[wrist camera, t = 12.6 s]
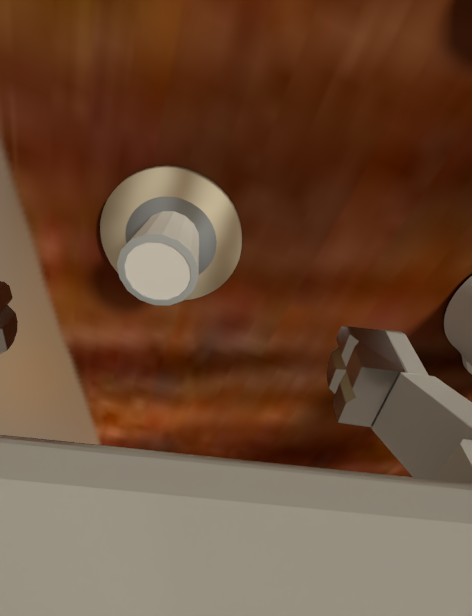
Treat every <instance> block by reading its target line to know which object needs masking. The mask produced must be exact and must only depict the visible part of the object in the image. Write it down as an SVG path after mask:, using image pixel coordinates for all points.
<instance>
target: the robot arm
mask: <svg viewBox="0 0 472 616" xmlns="http://www.w3.org/2000/svg"><path fill="white" fill-rule="evenodd" d="M11 299H12V294H11V291H10V287H9V285H7V284H6V283H5V282H1V281H0V353H3V352H5V351H7V350H8V349H9V347H10V346H11V345H12V343H13V341H14V338H15V336H16V333H17V318H16V314H15V312H14V311H13V310H12V309H11V308H10V307H9V306H8V303H9V302H10V301H11ZM444 330H445V334H446V336H447V338H448V340H449V342H450V343H451V344H452V345H453V346H454V347H455V348H456V349H457V350H458V351H459V352H460V354H461V356H462V361H463V365H464V367H465V368H466V369H467V371H468V372H469V373H470V374H472V276H471V277H470V278H469V279H468V280H467V281H465V282H464V284H463V285H462V286H461V287H460V288H459V289H458V290H457V292H456V293H455V294H454V296H453V297H452V299H451V301H450V303H449V305H448V307H447V309H446V313H445V317H444ZM336 339H337V343H338V346H339V347H338V348H337V349H335V350H334V351H332V352H331V355H330V358H329V361H328V366H327V382H328V386H329V389H331V390H332V391H333V392H334V393H335V396H334V399H333V401H332V402H333V406H334V410H335V414H336V418H337V421H338V423H344V424H351V425H359V426H366V427H372V430H373V431H374V432H375V434H376V435H377V436H378V437H379V438H380V439H381V440H382V442H383V443H384V444H385V445H386V446H387V447H388V449H389V450H390V451H391V452H392V453H393V454H394V456H395V457H396V458H397V459H398V460H399V461H400V463H401V464H402V465H403V466H404V467H405V468H406V469H407V471H408V472H409V473H410V474H411V475H412V476H413V477H404V476H394V475H384V474H375V473H365V472H355V471H346V470H336V469H326V468H317V467H307V466H297V465H288V464H278V463H268V462H258V461H249V460H239V459H229V458H220V457H210V456H201V455H191V454H181V453H172V452H162V451H152V450H143V449H133V448H123V447H114V446H104V445H94V444H85V443H74V442H65V441H55V440H46V439H36V438H26V437H16V436H6V435H0V616H472V402H470V401H469V400H467V399H466V398H465V397H463V396H462V395H460V394H459V393H457V392H456V391H455V390H453V389H452V388H450V387H449V386H448V385H446V384H445V383H443V382H442V381H441V380H439V379H438V378H436V377H435V376H429V375H428V373H427V372H426V370H425V368H424V366H423V365H422V363H421V361H420V359H419V358H418V356H417V354H416V352H415V350H414V349H413V347H412V345H411V343H410V342H409V340H408V338H407V336H406V335H405V334H404V333H402V332H398V331H388V330H375V329H366V328H357V327H348V326H342V328H341V329H340V331H339V333H338V336H337V338H336Z"/></svg>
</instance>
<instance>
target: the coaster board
mask: <svg viewBox="0 0 472 616" xmlns="http://www.w3.org/2000/svg"><path fill="white" fill-rule="evenodd" d="M162 211H175V212H177V213H180V214H182V215H185V216H186V217H187V218H188V219H189V220H190V221H191V222H193V223H194V225H195V227H196V229H197V231H198V233H199V276H198V282H197V284H196V286H195V289H194V291H193V292H192V293H191V294H190V295H189V296H188V297H187V298H186V299H184V300H189V299H195V298H198V297H202V296H204V295H207V294H209V293H211V292H212V291H214V290H216V289H217V288H218V287H220V286H221V285H222V284H223V283H224V282H225V281H226V280H227V279H228V278H229V277H230V275H231V274H232V273H233V271H234V269H235V268H236V265H237V263H238V260H239V257H240V253H241V246H242V230H241V224H240V220H239V217H238V214H237V211H236V209H235V207H234V205H233V203H232V202H231V200H230V199H229V197H228V196H227V195H226V194H225V192H224V191H223V190H222V189H221V188H220V187H219V186H218V185H217V184H215V183H214V182H213V181H212V180H210V179H209V178H207V177H206V176H204V175H202V174H200V173H198V172H196V171H193V170H190V169H187V168H183V167H178V166H168V165H166V166H155V167H149V168H146V169H143V170H140V171H138V172H136V173H134V174H132V175H130V176H129V177H128V178H126V179H125V180H124V181H122V182H121V183H120V185H119V186H118V187H117V188H116V189H115V190H114V191H113V192H112V194H111V195H110V196H109V198H108V200H107V202H106V204H105V206H104V209H103V212H102V215H101V221H100V234H101V241H102V245H103V249H104V251H105V253H106V256H107V258H108V260H109V261H110V263H111V265H112V266H113V267H114V269H115V270H116V271H117V273H118V268H117V262H118V258H119V255H120V251H121V250H122V249H123V247H124V246H125V245H126V244H127V243H128V242H129V241H130V240H131V238H132V237H133V236H134V235H135V234H136V233H137V232H138V231H139V230H140V228H141V227H142V226H143V225H144V224H145V223H146V222H147V221H148V220H149V219H150V217H151V216H152V215H155V214H157V213H160V212H162ZM118 274H119V273H118Z"/></svg>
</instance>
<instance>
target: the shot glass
mask: <svg viewBox="0 0 472 616" xmlns="http://www.w3.org/2000/svg"><path fill="white" fill-rule="evenodd" d="M117 268H118V273H119V278H120V280H121V281H122V283H123V284H124V286H125V287H126V289H127V291H129V292H130V293H131V294H133V295H134V296H135V297H137V298H138V299H139V300H141V301H144V302H147V303H150V304H153V305H172V304H175V303H178V302H181V301H183V300H184V299H186V298H187V297H188V296H189V295H190V294H191V293H192V292H193V291H194V289H195V286H196V284H197V282H198V276H199V233H198V231H197V229H196V227H195V225H194V223H193V222H191V221H190V220H189V219H188V218H187V217H186V216H185V215H182V214H180V213H177V212H175V211H162V212H160V213H157V214H155V215H152V216H151V217H150V219H149V220H148V221H147V222H146V223H145V224H144V225H143V226H142V227H141V228H140V230H139V231H138V232H137V233H136V234H135V235H134V236H133V237H132V238H131V240H130V241H129V242H128V243H127V244H126V245H125V246H124V247H123V249H122V250H121V251H120V255H119V258H118V262H117Z"/></svg>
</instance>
